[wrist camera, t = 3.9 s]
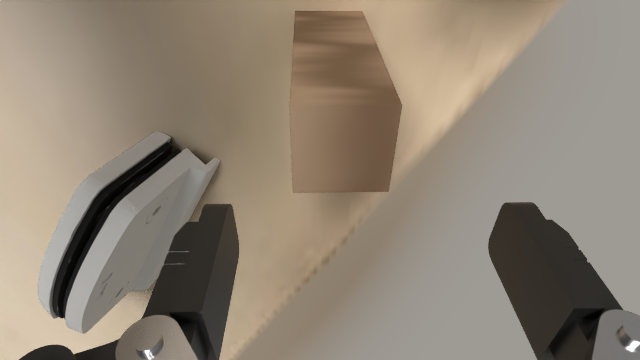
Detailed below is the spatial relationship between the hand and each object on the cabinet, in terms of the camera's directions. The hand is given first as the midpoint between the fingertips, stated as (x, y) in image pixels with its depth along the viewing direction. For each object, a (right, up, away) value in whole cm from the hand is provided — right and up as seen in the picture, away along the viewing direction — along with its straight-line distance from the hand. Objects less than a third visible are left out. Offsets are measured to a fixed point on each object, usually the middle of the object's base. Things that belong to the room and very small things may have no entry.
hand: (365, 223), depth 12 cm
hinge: (-16, -1, +21) cm, 27 cm away
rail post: (-1, +10, +13) cm, 16 cm away
